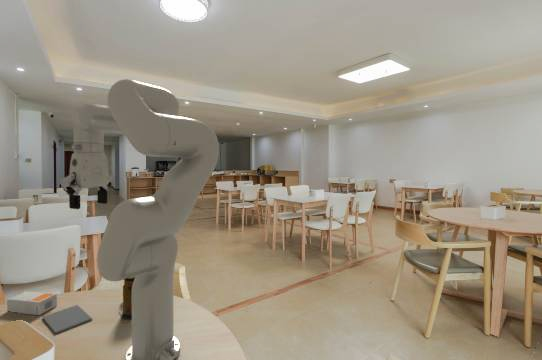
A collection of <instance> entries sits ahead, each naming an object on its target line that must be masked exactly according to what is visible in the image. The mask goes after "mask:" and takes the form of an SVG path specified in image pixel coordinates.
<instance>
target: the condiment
mask: <svg viewBox="0 0 542 360" xmlns="http://www.w3.org/2000/svg"><path fill="white" fill-rule="evenodd" d="M135 277H136V276H133V277H130V278H127V279H124V280H123V281H124V282H123V283H124V284H123V286H122V309H120V310H118V314H119V315H120V317H121V319H122V322H124V323H128V322H132V285H133V282H134V279H135Z"/></svg>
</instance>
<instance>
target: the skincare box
mask: <svg viewBox="0 0 542 360" xmlns="http://www.w3.org/2000/svg"><path fill="white" fill-rule="evenodd" d="M57 301H58V299H57V293H52V292H51V293H50V292H42V291H28V290H24V291H23V292H21V293H18V294H16V295H14V296H12V297H9V298H6V306H7V307H6V309H7V311H13V312H17V313H16V314H25V315H32V316H33V315H35V316H41V315H42V314H45V313H47V312H49V311H50V310H51V309H52V310H53V308H56V307H57V306H58V302H57ZM13 312H12V313H13Z"/></svg>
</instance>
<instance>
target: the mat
mask: <svg viewBox="0 0 542 360" xmlns="http://www.w3.org/2000/svg"><path fill="white" fill-rule="evenodd" d="M42 320H43V321H44V322H45V324H47V326H48V327H49V328H50V329H51V330H52V332H53V333H54V335H58V334H60V333H62V332H66V331H67V330H70V329H73V328H75V327H78V326H81V325H83V324H86V323H89V322H91V321H93V317H91V316H90V315H89V314H88V313H87V312H86V311H84V309H82V308H81V307H80V306H79V305H78V304H76V305H72V306H70V307H67V308H64V309H61V310H58V311H55V312H53V313H50V314H46V315H43V316H42Z"/></svg>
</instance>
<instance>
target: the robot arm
mask: <svg viewBox="0 0 542 360" xmlns="http://www.w3.org/2000/svg"><path fill="white" fill-rule="evenodd" d="M106 101H107V105H103V104H99V103H98V104H97V103H85V104H83V105H79V106H78V105H77V106H75V107H74V109H73V113H72V114H73V144H71V149H72V150H73V153H71V158H70V162H69V175H66V176H65V177H63V178H62V179H60V181H59V182H60V185H61V186H62V189H63V191H64V192H66V195H68V199H69V202H68V203H69V205H68V207H69V209H71V210H72V209H73V210H80V209H81V195H79V194H80V193H81V191H82V190H83V189H93V188H97V189H98V190H97V194H96V195H97V201H96V202H97V203H98V204H103V205H104V204H105V205H107V204H108V192H109V191H110V187H111V186H112V182H113V179H114V177H113V176H112V175H110V174H109V165H108V158H107V155H106V154H105V152H104V147H105V146H104V145H105V144H104V141H105V138H104V137H105V135H104V134H105V133H109V134H118V135H125V137H126V139H127V140H128V142H129V143H130V144H131V146H132V147H133V148H134V149H135V151H137V152H138V153H140V154H142V155H144V156H146V157H154V158H158V157H159V158H180V160H179V161H178V162H177V163H175V164H174V165H173V166H171V168H170V169H169V170H168V171H167V172H166V173H165V174H164V176H163V177H162V179H161V182H160V184H159V187H158V189H157V190H156V191H155V193H154V194H152V195H149V196H143V197H133V198H128V199H125V200H123V201H121V202H120V203H118V204H117V205H116V206H115V207H114V208H113V210H112V212H111V214H110V216H109V219H108V222H107V224H106V227H105V230H104V233H103V236H102V238H101V240H100V243H99V247H98V249H97V250H98V251H97V254H96V267H97V270H98V273H99V275H100V276H101V277H102V278H103V279H104V280H105V281H109V282H119V281H124V279H127V278H130V277H133V276H136V277H135V279H134V282H133V285H132V321H131V341H132V342H131V346H130V347H129V348H128V349H127V351H126V352H125V356H124V357H125V358H124V360H175V359H176V358H177V357H179V355H180V350H181V343H180V340H179V339H178V338H177V337H176V336H175V335H174V277H175V276H174V275H175V267H176V260H177V258H178V257H177V256H178V250H179V249H178V247H179V245H178V240H177V237H176V235H177V234H178V233H179V232H180V231H181V230H182V229H183V228H184V226H185V225H186V223H187V221H188V219H189V217H190V215H191V213H192V211H193V210H194V207H195V205H196V202H197V201H198V198H199V196H200V195H201V192H202V190H203V189H204V188H205V186H206V185H207V182H208V181H209V179H210V178H211V176H212V174H213V172H214V171H215V168H216V167H217V163H218V161H219V155H220V154H219V153H220V146H219V145H220V144H219V140H218V137H217V134H216V132H215V130H214V129H213V128H212V127H211V126H210V125H208V124H207V123H206V122H203V121H201V120H198V119H194V118H189V117H184V116H178V115H179V111H180V105H179V100H178V99H177V97H176V96H175V95H174V93H172V91H169V90H168V89H166V88H163V87H160V86H157V85H152V84H149V83H144V82H141V81H137V80H133V79H121V80H118V81H116V82H115V83H114V84H112V85H111V87H110V88H109V90H108V94H107V100H106ZM175 234H176V235H175Z"/></svg>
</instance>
